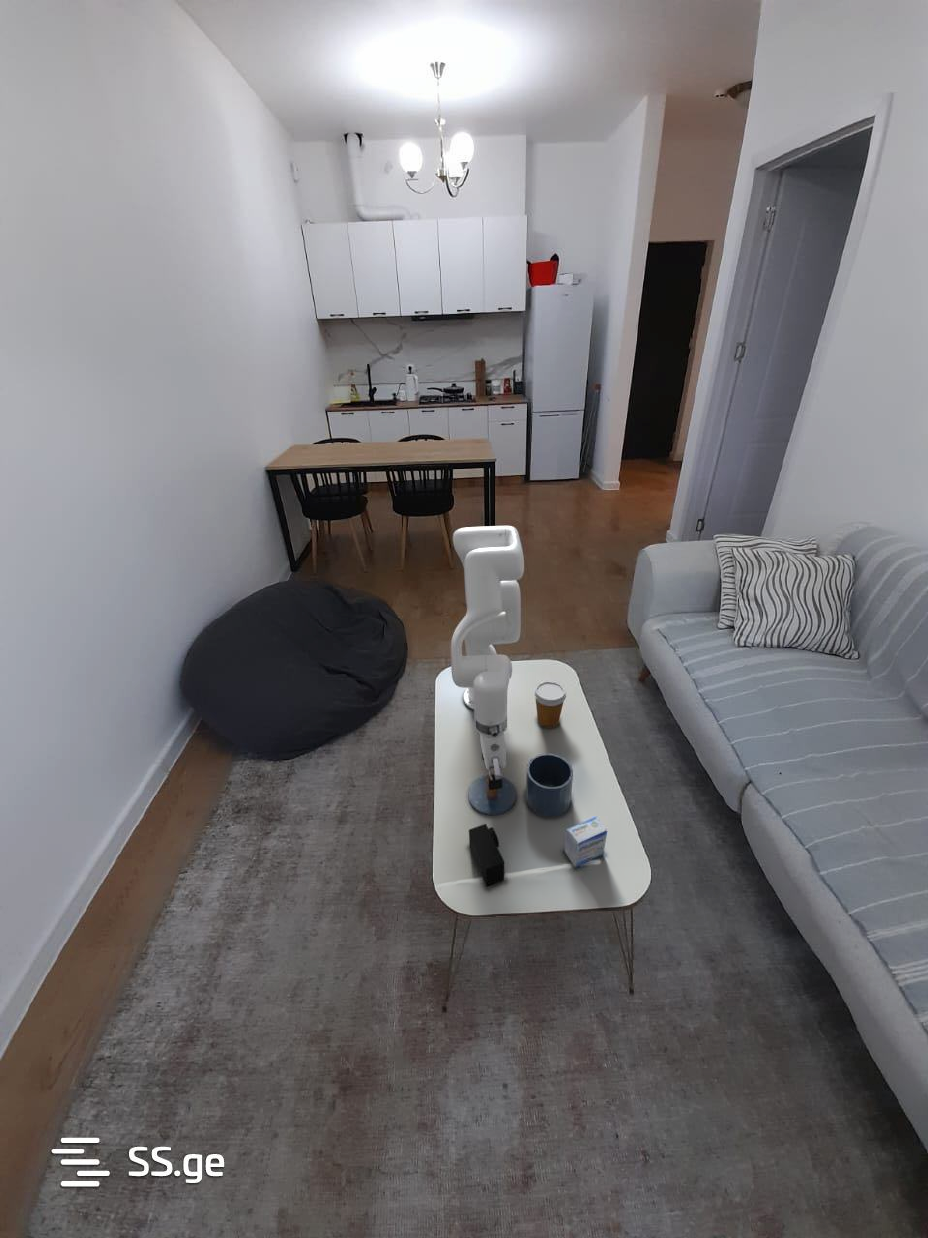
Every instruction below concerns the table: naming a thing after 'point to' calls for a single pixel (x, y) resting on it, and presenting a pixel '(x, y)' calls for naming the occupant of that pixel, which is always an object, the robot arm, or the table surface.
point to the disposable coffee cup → (549, 703)
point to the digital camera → (487, 854)
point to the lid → (491, 796)
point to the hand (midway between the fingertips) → (491, 773)
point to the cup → (549, 798)
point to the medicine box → (585, 841)
